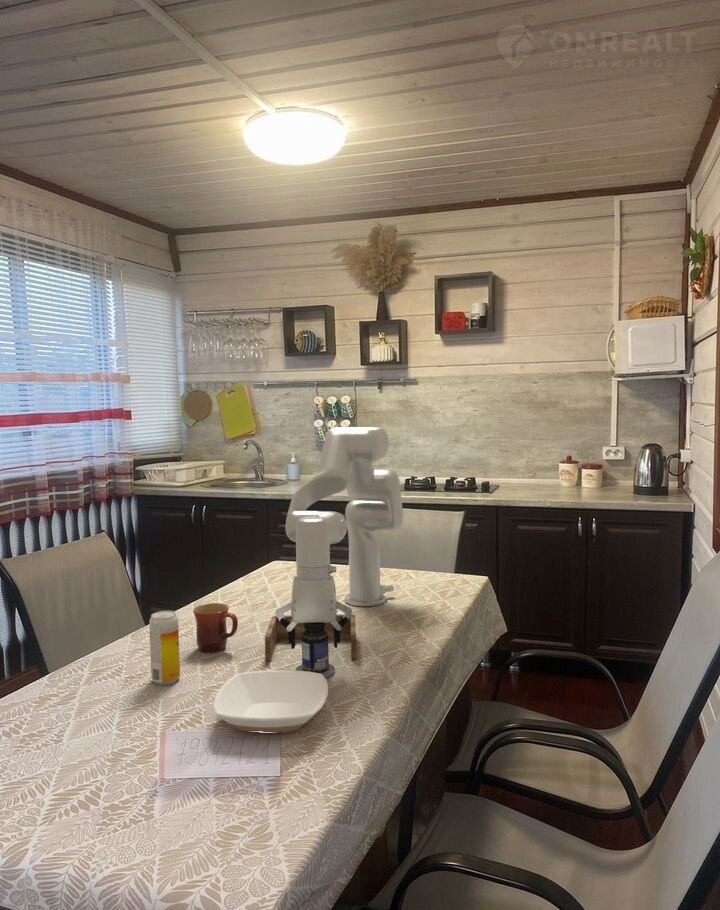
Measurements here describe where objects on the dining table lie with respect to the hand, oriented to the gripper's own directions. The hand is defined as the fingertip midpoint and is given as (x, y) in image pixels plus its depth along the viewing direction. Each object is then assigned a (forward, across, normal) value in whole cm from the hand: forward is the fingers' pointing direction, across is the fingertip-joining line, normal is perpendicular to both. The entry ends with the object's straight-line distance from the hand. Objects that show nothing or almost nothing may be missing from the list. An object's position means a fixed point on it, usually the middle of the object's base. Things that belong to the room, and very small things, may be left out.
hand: (314, 646), depth 150 cm
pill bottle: (+6, 0, 0) cm, 6 cm away
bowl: (+6, +7, +22) cm, 24 cm away
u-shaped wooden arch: (+6, +1, -14) cm, 16 cm away
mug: (+6, +25, -16) cm, 30 cm away
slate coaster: (+6, 0, 0) cm, 6 cm away
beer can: (+6, +33, +3) cm, 34 cm away
